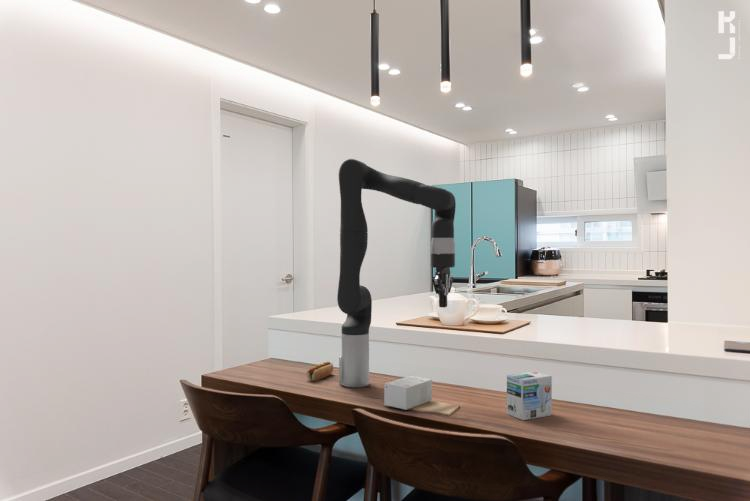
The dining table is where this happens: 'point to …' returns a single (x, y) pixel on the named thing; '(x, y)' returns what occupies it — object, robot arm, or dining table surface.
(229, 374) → the dining table surface
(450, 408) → the wooden board
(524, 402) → the light bulb box
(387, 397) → the small box
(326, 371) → the food
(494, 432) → the dining table surface
